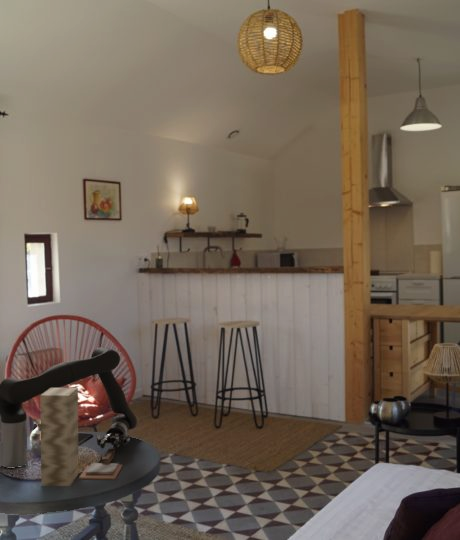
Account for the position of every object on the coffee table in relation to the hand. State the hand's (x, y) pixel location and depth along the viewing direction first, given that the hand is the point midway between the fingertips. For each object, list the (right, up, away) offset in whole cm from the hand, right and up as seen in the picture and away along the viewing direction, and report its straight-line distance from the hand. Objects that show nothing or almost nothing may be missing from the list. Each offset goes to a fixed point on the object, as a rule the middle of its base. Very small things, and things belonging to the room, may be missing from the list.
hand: (108, 446), depth 256 cm
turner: (0, -6, -5) cm, 7 cm away
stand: (-14, -7, -20) cm, 25 cm away
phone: (-18, -5, +28) cm, 33 cm away
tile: (0, -7, -12) cm, 14 cm away
